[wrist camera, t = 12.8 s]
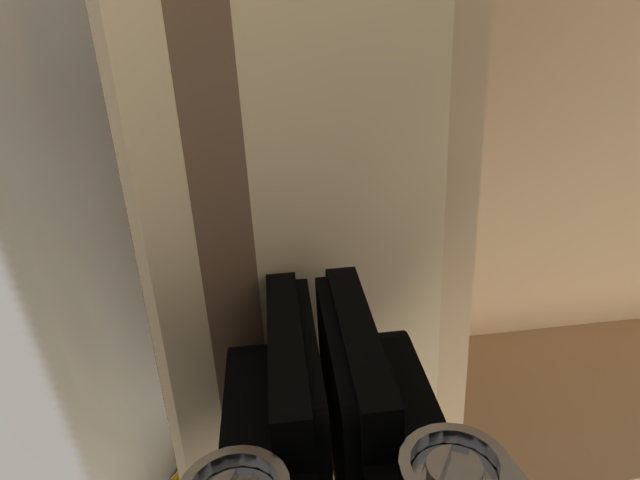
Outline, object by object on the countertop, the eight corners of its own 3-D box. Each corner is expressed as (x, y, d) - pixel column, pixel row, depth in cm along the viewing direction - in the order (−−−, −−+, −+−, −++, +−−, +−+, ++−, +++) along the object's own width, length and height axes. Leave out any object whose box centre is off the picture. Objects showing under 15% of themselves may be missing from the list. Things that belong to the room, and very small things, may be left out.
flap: (464, -171, 9) (53, -239, 6) (431, 531, 16) (228, 688, 13) (435, -162, 10) (40, -220, 6) (415, 516, 17) (215, 663, 13)
